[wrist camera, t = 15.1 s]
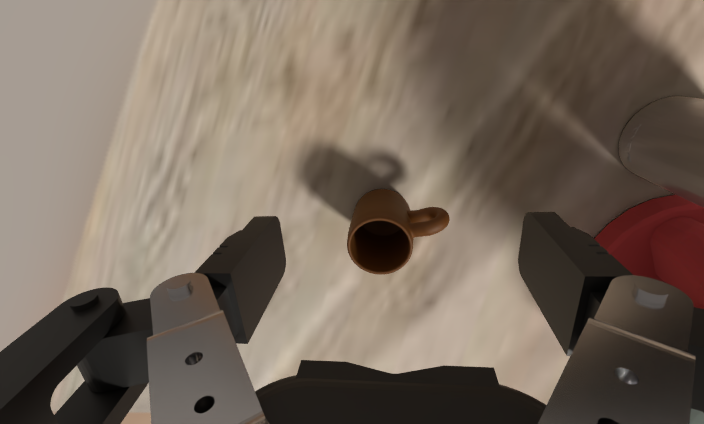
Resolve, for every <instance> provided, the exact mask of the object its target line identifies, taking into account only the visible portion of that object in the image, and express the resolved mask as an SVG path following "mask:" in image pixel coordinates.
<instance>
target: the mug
mask: <svg viewBox="0 0 704 424" xmlns="http://www.w3.org/2000/svg"><path fill="white" fill-rule="evenodd" d="M448 223H449V215H448V213H447V212H446V211H445V210H444V209H442V208H438V207H429V208H424V209H420V210H414V211H410V209H409V206H408V204H407V202H406V201H405V199H404V198H403V197H402V196H401V195H399V194H398V193H396V192H394V191H392V190H388V189H376V190H372V191H370V192H368V193H366V194H365V195H364V196H363V197H362V198H361V199H360V200H359V201H358V203H357V205H356V207H355V210H354V214H353V217H352V220H351V224H350V228H349V232H348V240H347V249H348V253H349V255H350V257H351V259H352V260H353V262H354V263H355V264H356V265H357V266H358V267H360V268H361V269H363V270H365V271H367V272H369V273H373V274H389V273H392V272H395V271H397V270H399V269H400V268H402V267H403V266H404V265H405V264H406V263H407V262H408V260H409V259H410V257H411V254H412V249H413V238H414V237H420V236H429V235H433V234H436V233H438V232H440V231H442V230H443V229H444V228H445V227H446V226H447V225H448Z"/></svg>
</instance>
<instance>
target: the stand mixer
mask: <svg viewBox="0 0 704 424" xmlns="http://www.w3.org/2000/svg"><path fill="white" fill-rule="evenodd" d="M594 239H595V240H596V241H597V242H598V243H599V244H600V246H602V247H603V248H605V249H606V250H607V251H608V252H609V254H611V255H612V256H613V257H614V258H615V259H617V260H618V261H619V262H620V263H621V264H622V265H623V266H624V267H625V268H626V269H627V270H629V271H630V272H631V273H632V274H633V275H636V276H643V277H649V278H653V279H656V280H659V281H662V282H665V283H668V284H670V285H672V286H674V287H676V288H678V289H680V290H681V291H682V292H684V293H685V294H686V295H688V296H689V297H690V299H691V300H692V302H693V305H694V307H696V308H701V309H704V208H703V207H701V206H699V205H697V204H695V203H693V202H691V201H688V200H686V199H684V198H682V197H680V196H678V195H671V196H666V197H660V198H655V199H651V200H649V201H647V202H644V203H642V204H640V205H637V206H635V207H633V208H631V209H629V210H627V211H626V212H625V213H623V214H622V215H620V216H619V217H617V218H616V219H615V220H613V221H612V222H610V223H609V224H608V225H607V226H606V227H605V228H604V229H603V230H602V231H601V232H600V233H599V234H598V235H597V236H596V237H595V238H594ZM690 424H704V413H703V412H702V411H698V410H695V409H691V413H690Z"/></svg>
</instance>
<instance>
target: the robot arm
mask: <svg viewBox="0 0 704 424" xmlns="http://www.w3.org/2000/svg"><path fill="white" fill-rule="evenodd" d="M618 149H619V157H620V159H621V161H622V163H623V165H624V166H625V167H626V168H627V169H628V170H629V171H631V172H632V173H634V174H636V175H638V176H640V177H642V178H644V179H646V180H648V181H650V182H652V183H654V184H656V185H658V186H660V187H662V188H664V189H666V190H668V191H670V192H672V193H674V194H676V195H678V196H680V197H682V198H684V199H686V200H688V201H691V202H693V203H695V204H697V205H699V206H701V207H703V208H704V99H700V98H692V97H685V96H672V97H667V98H663V99H660V100H657V101H655V102H653V103H651V104H649V105H647V106H646V107H644V108H643V109H641V110H640V111H639V112H638V113H637V114H635V115H634V116H633V117H632V119H631V120H630V121H629V122H628V123H627V125H626V127H625V128H624V130H623V132H622V135H621V137H620V140H619V148H618ZM518 264H519V271H520V274H521V276H522V278H523V280H524V282H525V284H526V285H527V287H528V289H529V291H530V292H531V294H532V296H533V298H534V299H535V301H536V303H537V305H538V306H539V308H540V310H541V312H542V313H543V315H544V317H545V319H546V320H547V322H548V324H549V326H550V327H551V329H552V331H553V332H554V334H555V336H556V338H557V339H558V341H559V343H560V345H561V346H562V348H563V350H564V352H565V353H566V355H567V356H570V358H569V360H568V362H567V364H566V366H565V368H564V370H563V373H562V375H561V377H560V379H559V381H558V383H557V385H556V387H555V389H554V391H553V393H552V395H551V397H550V399H549V401H548V404H547V405H545V404H544V403H542V402H540V401H538V400H537V399H535V398H533V397H531V396H529V395H527V394H525V393H522V392H520V391H518V390H515V389H512V388H509V387H507V386H503V385H499V383H498V380H497V377H496V373H495V370H494V368H488V367H462V366H440V367H434V368H428V369H423V370H417V371H411V372H406V373H400V374H391V373H386V372H382V371H379V370H375V369H371V368H367V367H364V366H360V365H356V364H352V363H348V362H335V361H310V360H301V363H300V366H299V370H298V373H297V375H296V376H291V377H287V378H284V379H280V380H278V381H275V382H273V383H270V384H268V385H266V386H264V387H262V388H260V389H259V390H257V391H254V388H253V386H252V383H251V381H250V378H249V375H248V373H247V370H246V368H245V365H244V363H243V360H242V358H241V355H240V353H239V350H238V348H237V345H236V343H242V344H248V342H249V340H250V338H251V337H252V335H253V333H254V331H255V329H256V327H257V325H258V323H259V321H260V319H261V317H262V315H263V313H264V311H265V309H266V308H267V306H268V304H269V302H270V300H271V298H272V296H273V294H274V292H275V290H276V288H277V286H278V284H279V282H280V280H281V279H282V277H283V275H284V272H285V267H286V257H285V250H284V245H283V239H282V233H281V227H280V222H279V219H278V218H277V217H276V216H262V217H254V218H253V219H252V220H251V221H250V222H249V223H248V224H247V225H246V226H245V228H244V229H243V230H240V231H238V232H236V233H235V234H233V235H231V236H229V237H228V238H227V239H226V240H225V241H224V242H223V243H222V244H221V245H220V248H217V249H216V250H215V251H214V252H213V255H211V256H210V257H209V258H208V259H207V260H206V261H205V262H204V263H203V264H202V265H201V266H200V267H199V268H198V270H197V271H196V272H195V273H187V274H182V275H178V276H175V277H172V278H170V279H168V280H166V281H164V282H162V283H161V284H159V285H158V286H157V287H156V288H155V289H154V290H153V291H152V292H151V295H150V298H149V299H143V300H138V301H132V302H127V303H122V301H121V298H120V296H119V293H118V291H117V290H116V289H113V288H98V289H93V290H90V291H86V292H83V293H81V294H78V295H76V296H74V297H72V298H70V299H68V300H67V301H65V302H63V303H62V304H61V305H59V306H58V307H57V308H55V309H54V310H53V311H52V312H51V313H49V314H48V315H47V316H45V317H44V318H43V319H42V320H40V321H39V322H38V323H36V324H35V325H34V326H33V327H31V328H30V329H29V330H28V331H26V332H25V333H24V334H23V335H21V336H20V337H19V338H17V339H16V340H15V341H14V342H12V343H11V344H10V345H9V346H7V347H6V348H5V349H4V350H2V351H1V352H0V424H120V423H121V422H122V420H123V419H124V417H125V416H126V414H127V413H128V412H129V410H130V409H131V408H132V406H133V405H134V403H135V402H136V400H137V399H138V397H139V396H140V395H141V393H142V392H143V390H144V389H145V387H146V386H147V384H148V383H149V391H150V408H151V424H690V413H691V409H695V410H698V411H702V412H703V413H704V309H701V308H696V307H694V305H693V302H692V300H691V299H690V297H689V296H688V295H686V294H685V293H684V292H682V291H681V290H680V289H678V288H676V287H674V286H672V285H670V284H668V283H665V282H662V281H659V280H656V279H653V278H649V277H643V276H636V275H633V274H632V273H631V272H630V271H629V270H627V269H626V268H625V267H624V266H623V265H622V264H621V263H620V262H619V261H618V260H617V259H615V258H614V257H613V256H612V255H611V254H609V252H608V251H607V250H606V249H605V248H603V247H602V246H600V244H599V243H598V242H597V241H596V240H595V239H594V238H593V237H591V236H590V235H589V234H587V233H585V232H583V231H581V230H578V229H576V228H574V227H569V226H568V225H567V224H566V223H565V222H564V221H563V220H562V219H561V218H560V217H559V216H558V215H557V214H556V213H555V212H528V213H526V215H525V217H524V221H523V228H522V235H521V242H520V250H519V258H518ZM76 365H77V366H78V368H79V370H80V372H81V374H82V376H83V378H84V380H85V381H84V382H83V383H82V385H81V386H80V387H79V388H78V389H77V390H76V391H75V392H74V394H73V395H72V396H71V397H70V398H69V399H68V400H67V401H66V402H65V404H64V405H63V406H62V407H61V408H60V409H59V410H58V411H57V413H56V414H55V415H54V414H53V412H52V410H51V407H50V402H51V397H52V394H53V392H54V390H55V388H56V387H57V385H58V384H59V383H60V382H61V381H62V380H63V379H64V378H65V377H66V376H67V375H68V374H69V373H70V372H71V371H72V369H73V368H74V367H75V366H76Z"/></svg>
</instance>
